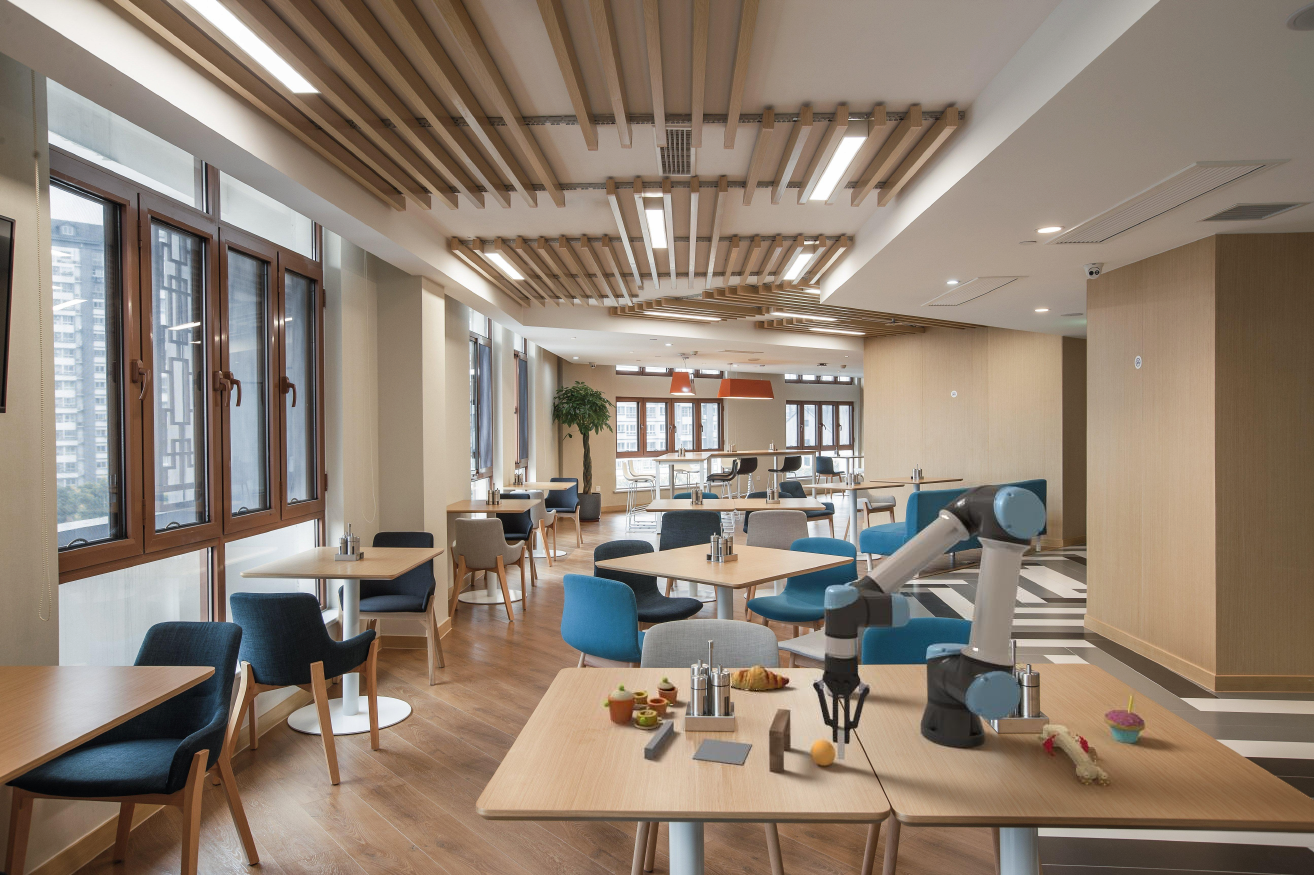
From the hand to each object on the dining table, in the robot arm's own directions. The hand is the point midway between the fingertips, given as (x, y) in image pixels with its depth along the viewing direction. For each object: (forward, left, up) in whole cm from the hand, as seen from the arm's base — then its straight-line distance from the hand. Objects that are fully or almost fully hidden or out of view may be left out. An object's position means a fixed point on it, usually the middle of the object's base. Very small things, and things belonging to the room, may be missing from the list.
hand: (841, 756), depth 162 cm
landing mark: (+28, 0, -2) cm, 28 cm away
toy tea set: (+55, -20, -3) cm, 58 cm away
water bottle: (+4, -52, -3) cm, 52 cm away
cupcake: (-67, -37, -3) cm, 77 cm away
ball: (+4, 0, 0) cm, 4 cm away
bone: (-51, -19, -3) cm, 55 cm away
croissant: (+29, -51, -3) cm, 59 cm away
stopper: (+44, 0, -2) cm, 44 cm away
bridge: (+14, 0, -2) cm, 14 cm away
